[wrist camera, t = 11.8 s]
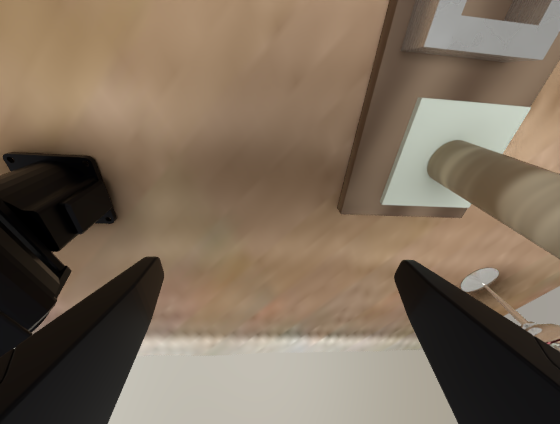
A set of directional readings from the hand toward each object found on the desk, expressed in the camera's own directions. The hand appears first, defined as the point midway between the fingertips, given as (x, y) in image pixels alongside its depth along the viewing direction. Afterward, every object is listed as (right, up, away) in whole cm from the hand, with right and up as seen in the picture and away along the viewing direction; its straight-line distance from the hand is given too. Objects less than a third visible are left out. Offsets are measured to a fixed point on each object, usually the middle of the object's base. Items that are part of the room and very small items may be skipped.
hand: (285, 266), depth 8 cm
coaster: (+14, +7, +11) cm, 19 cm away
